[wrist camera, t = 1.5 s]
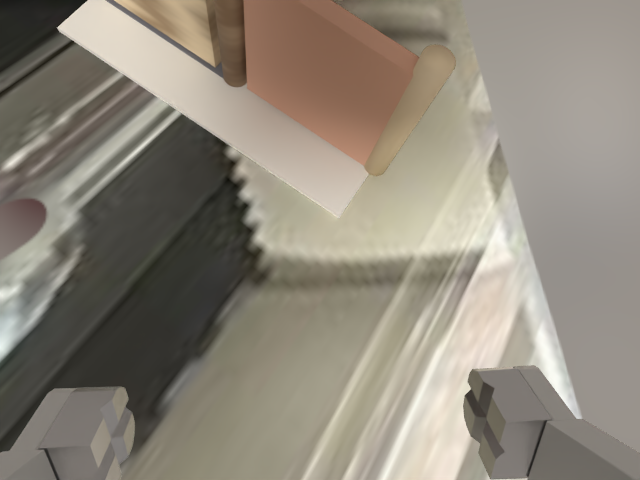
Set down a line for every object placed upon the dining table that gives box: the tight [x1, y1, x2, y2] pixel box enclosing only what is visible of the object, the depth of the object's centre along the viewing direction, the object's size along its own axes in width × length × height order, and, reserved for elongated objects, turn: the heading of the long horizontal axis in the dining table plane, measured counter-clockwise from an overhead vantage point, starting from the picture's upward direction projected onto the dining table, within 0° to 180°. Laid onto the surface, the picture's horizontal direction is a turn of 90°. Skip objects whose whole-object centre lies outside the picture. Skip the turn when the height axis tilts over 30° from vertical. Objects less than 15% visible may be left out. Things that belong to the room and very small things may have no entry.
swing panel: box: [244, 0, 456, 176], centre depth 27 cm, size 12×2×12 cm, turn 57°
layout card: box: [57, 0, 369, 218], centre depth 35 cm, size 26×16×1 cm, turn 57°
